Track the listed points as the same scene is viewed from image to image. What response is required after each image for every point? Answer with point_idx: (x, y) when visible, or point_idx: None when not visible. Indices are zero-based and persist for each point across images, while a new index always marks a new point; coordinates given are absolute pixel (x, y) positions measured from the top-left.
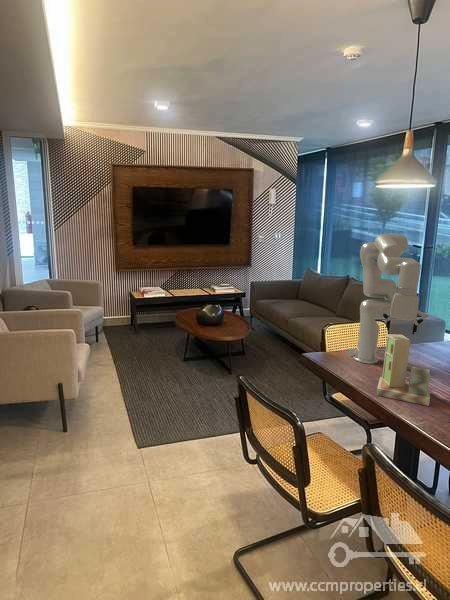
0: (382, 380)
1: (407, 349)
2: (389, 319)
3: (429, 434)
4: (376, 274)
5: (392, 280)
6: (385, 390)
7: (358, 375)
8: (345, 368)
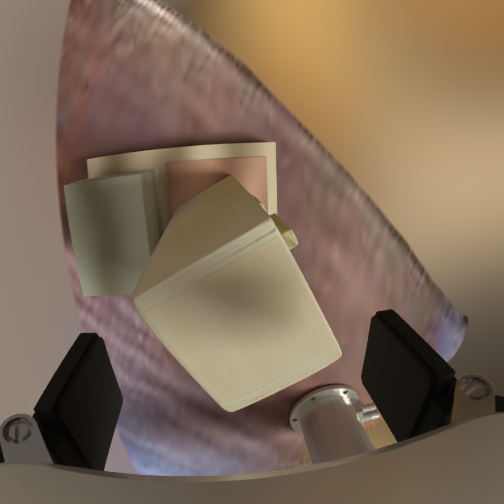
0: None
1: (158, 258)
2: (463, 399)
3: None
4: None
5: None
6: (243, 143)
7: (343, 285)
8: None
